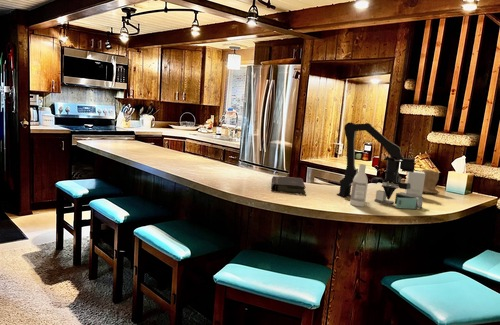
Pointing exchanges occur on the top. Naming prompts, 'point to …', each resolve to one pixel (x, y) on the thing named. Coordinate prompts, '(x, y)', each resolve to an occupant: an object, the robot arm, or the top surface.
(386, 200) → the mixer board
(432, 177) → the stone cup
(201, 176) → the top surface
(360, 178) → the bath foam
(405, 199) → the teal rectangular slab
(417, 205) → the rack
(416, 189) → the supplement box
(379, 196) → the fader knob
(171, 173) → the top surface
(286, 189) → the diary
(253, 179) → the top surface
